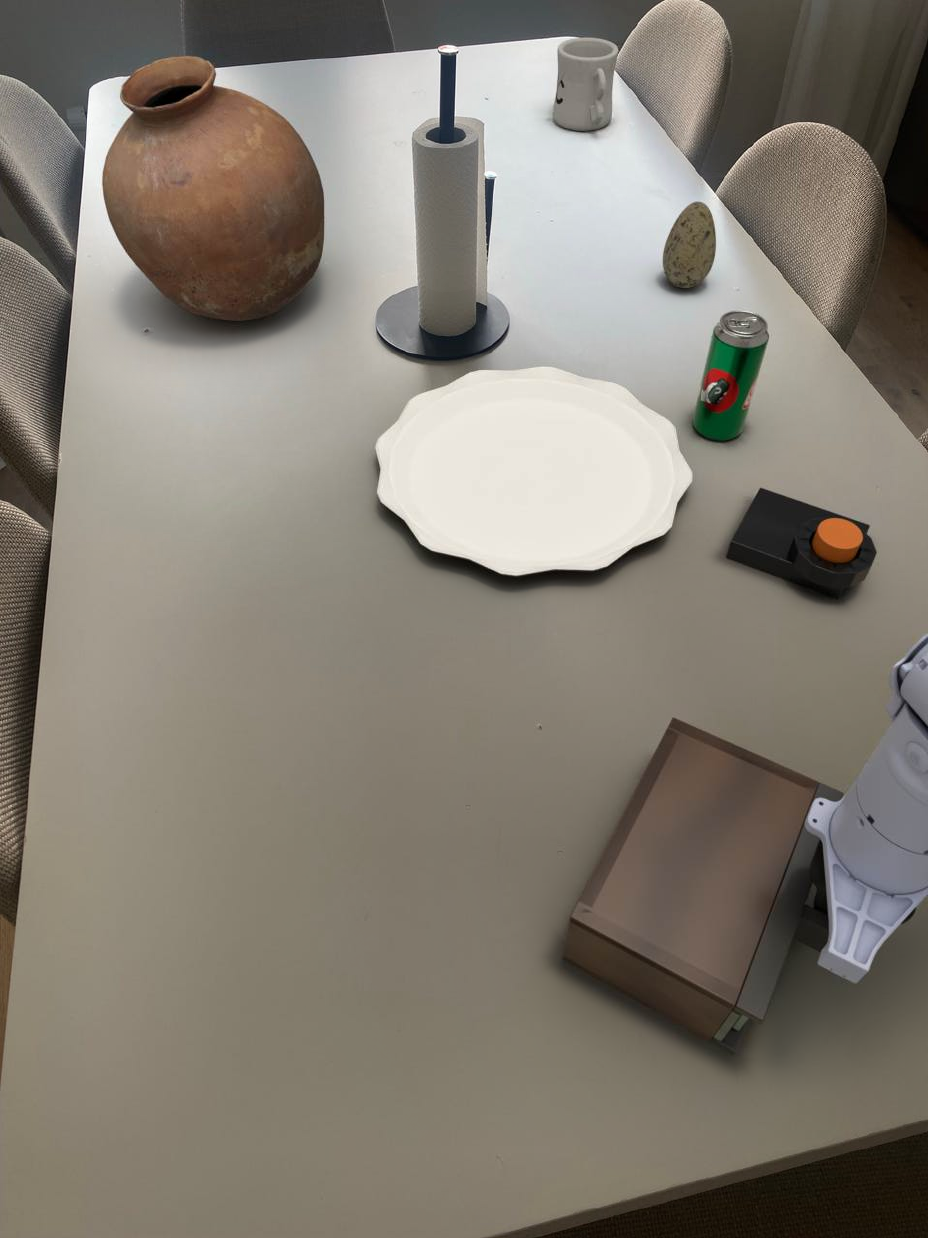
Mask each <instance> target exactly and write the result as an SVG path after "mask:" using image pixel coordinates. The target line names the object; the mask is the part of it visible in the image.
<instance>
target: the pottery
mask: <svg viewBox="0 0 928 1238" xmlns="http://www.w3.org/2000/svg"><path fill="white" fill-rule="evenodd" d="M216 77H217V72H216V68H215V66H214V65H213V64H212V63H211V62H210V61H209V60H205V59H204V58H201V57H199V56H191V55H182V56H171V57H167V58H162V59H157V60H155V61H153V62H151V63H149V64H146V65H144V66H142V67H140V68H138V69H136V70H135V71H134V72H133V73H132V74H130V75H129V77H128V78H127V79H126V80H125V81H124V82H123V83H122V85H121V88H120V91H119V93H120V94H119V99H120V102H121V103H122V104H123V105H124V106H125V107H126V108H127V109H128V110H129V111H131V112H132V113H131V114H130V115H129V117H128V118H127V119H126V120H125V121H124V122H123V124H122V126H121V127H120V129H119V130H118V132H117V134H116V136H115V137H114V139H113V141H112V143H111V145H110V146H109V148H108V150H107V153H106V156H105V159H104V165H103V169H102V176H101V177H102V178H101V179H102V180H101V186H102V194H103V195H102V196H103V200H104V204H105V205H104V206H105V209H106V213H107V216H108V219H109V223H110V225H111V227H112V229H113V233H114V234H115V236H116V238H117V240H118V242H119V244H120V245H121V247H122V249H123V250H124V251H125V253H126V254H127V255H128V257H129V258H130V259H131V261H132V262H133V264H134V265H135V266H136V267H137V268H138V270H140V271H141V273H142V274H143V275H144V276H145V277H146V278H147V279H148V281H150V283H152V285H154V287H155V288H156V289H157V290H158V291H159V292H160V293H161V294H162V295H163V296H164V297H165V298H166V299H168V300H169V301H170V302H172V303H173V304H174V305H176V306H177V307H179V308H181V309H183V310H185V311H187V312H190V313H193V314H196V315H198V316H202V317H205V318H208V319H215V320H222V321H231V322H241V321H250V320H255V319H262V318H265V317H267V316H269V315H272V314H275V313H276V312H278V311H279V310H280V309H281V308H284V306H286V305H288V304H289V303H290V302H291V301H292V300H293V299H295V298H296V297H297V296H298V295H299V294H301V292H302V291H303V290H304V289H305V288H306V287H307V286H308V284H309V283H310V282H311V281H312V279H313V277H314V276H315V274H316V272H317V270H318V268H319V266H320V263H321V260H322V257H323V252H324V251H323V250H324V244H325V193H324V187H323V182H322V178H321V175H320V172H319V170H318V167H317V165H316V163H315V160H314V158H313V156H312V154H311V152H310V150H309V148H308V147H307V145H306V143H305V141H304V140H303V138H302V137H301V135H300V133H298V131H297V130H296V129H295V128H294V126H293V125H292V124H291V123H290V121H288V119H286V118H285V117H284V116H283V115H282V114H280V113H279V112H278V111H276V110H275V109H273V108H272V107H270V105H268V104H266V103H264V102H262V101H260V100H259V99H257V98H254V97H253V96H251V95H248V94H246V93H243V92H242V91H238V90H235V89H232V88H227V87H224V86H218V85H215V80H216Z"/></svg>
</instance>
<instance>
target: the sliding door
mask: <svg viewBox="0 0 928 1238" xmlns="http://www.w3.org/2000/svg"><path fill="white" fill-rule="evenodd" d="M828 937H829V916H828V915H827V914H825V913H823V912H821V911H819V910H817V909H815V908H814V907H813V906H811V905H808V904H807V903H805V905H804V908H803V911H802V914H801V917H800V920H799V922H798V925H797V928H796V931H795V934H794V937H793V939H792V940H794V941H797V942H799V943H800V944H802V945H804V946H807V947H808V948H811V949H812V950H815V951H816V952H818V953H819V954H821V951H822V949H823V948H824V947H825V946H826V944H827V943H828ZM747 1019H748V1017H746V1016H744V1015H742V1014H741V1015H740V1017H739V1018H738V1019H737V1021H736V1022H735V1023H734V1025H733V1028H734V1029H736V1030H738V1031H739V1030H740V1028H741V1027H742V1026H743V1025H744V1023H745V1022H746V1021H747Z"/></svg>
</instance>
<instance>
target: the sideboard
mask: <svg viewBox="0 0 928 1238" xmlns="http://www.w3.org/2000/svg"><path fill="white" fill-rule="evenodd" d="M844 796H845V794H844V792H843V791H840V790H838V789H836V788H833V787H832V786H830V785H827V784H825V783H823V782H819V781H818V780H816V779H814V778H812V777H809V776H808V775H805V774H802V773H800V772H798V771H796V770H793V769H791V768H789V767H787V766H785V765H782V764H780V763H779V762H776V761H773V760H771V759H769V758H767V757H765V756H762V755H760V754H757V753H755V752H754V751H753V752H752V751H750V750H748V749H746V748H744V747H742V746H739V745H737V744H735V743H733V742H730V741H729V740H725V739H724V738H721V737H719V736H717V735H714V734H713V733H710V732H708V731H706V730H703V729H701V728H699V727H696V726H694V725H692V724H690V723H687V722H685V721H683V720H681V719H678V718H676V717H671V720H670V722H669V724H668V726H667V728H666V730H665V732H664V733H663V736H662V737H661V739H660V741H659V743H658V745H657V747H656V749H655V750H654V753H653V755H652V757H651V759H650V760H649V762H648V764H647V766H646V769H644V771H643V774H642V776H641V778H640V780H639V781H638V783H637V785H636V788H635V789H634V791H633V794H632V795H631V797H630V799H629V801H628V803H627V805H626V808H625V809H624V811H623V813H622V815H621V817H620V819H619V821H618V822H617V824H616V826H615V828H614V830H613V832H612V834H611V836H610V838H609V840H608V842H607V843H606V846H605V848H604V850H603V852H602V854H601V855H600V857H599V859H598V861H597V863H596V864H595V867H594V869H593V871H592V872H591V875H590V876H589V879H588V880H587V883H586V885H585V887H584V888H583V890H582V892H581V894H580V896H579V897H578V899H577V902H576V904H575V905H574V908H573V910H572V911H571V914H570V915H569V919H568V924H567V930H566V934H565V939H564V944H563V949H562V952H561V953H562V954H561V956H560V958H561V960H562V961H564V962H566V963H568V964H570V965H572V966H573V967H575V968H577V969H578V970H580V971H582V972H583V973H586V974H587V975H589V976H591V977H593V978H595V979H597V980H598V981H600V982H602V983H604V984H606V985H607V986H609V987H611V988H613V989H615V990H616V991H618V992H620V993H622V994H623V995H625V996H627V997H629V998H631V999H632V1000H634V1001H636V1002H638V1003H639V1004H641V1005H643V1006H645V1007H647V1008H648V1009H650V1010H652V1011H654V1012H656V1013H658V1014H659V1015H661V1016H663V1017H664V1018H666V1019H668V1020H670V1021H671V1022H673V1023H675V1024H677V1025H679V1026H681V1027H682V1028H684V1029H686V1030H688V1031H690V1032H691V1033H693V1034H694V1035H697V1036H699V1037H700V1038H702V1039H704V1040H705V1041H708V1042H710V1043H711V1044H713V1045H715V1046H716V1047H719V1048H720V1049H722V1050H724V1051H726V1052H727V1053H729V1054H731V1055H733V1056H737V1055H738V1053H739V1051H740V1048H741V1045H742V1043H743V1040H744V1037H745V1034H746V1031H747V1029H748V1026H749V1023H750V1020H751V1021H752V1022H755V1023H757V1024H759V1025H761V1024H762V1023H763V1022H764V1021H765V1019H766V1016H767V1013H768V1010H769V1008H770V1004H771V1002H772V999H773V995H774V994H775V990H776V987H777V986H778V982H779V979H780V977H781V973H782V971H783V968H784V965H785V963H786V959H787V957H788V953H789V950H790V948H791V944H792V942H793V940H794V939H793V937H794V934H795V931H796V928H797V925H798V922H799V920H800V917H801V914H802V911H803V908H804V905H805V904H806V902H807V900H808V896H809V894H810V891H811V889H812V885H813V883H812V882H811V880H810V879H809V871H810V864H811V861H812V858H813V856H814V853H815V850H816V847H817V845H818V842H819V840H820V838H819V837H818V836H816V835H814V834H812V833H810V832H809V831H807V829H806V828H805V820H806V817H807V815H808V812H809V809H810V807H811V805H812V803H813V802H814V800H815V799H816V798H825V799H827V800H829V801H832V802H838V801H840V800H841V799H842V798H843V797H844ZM741 1014H742V1015H744V1016H746V1017H748V1019H747V1021H746V1022H745V1023H744V1025H743V1026H742V1027H741V1028H740V1030H739V1031H738V1030H736V1029H734V1028H733V1025H734V1023H735V1022H736V1021H737V1019H738V1018H739V1017H740V1015H741Z"/></svg>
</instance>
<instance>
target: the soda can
mask: <svg viewBox="0 0 928 1238" xmlns="http://www.w3.org/2000/svg"><path fill="white" fill-rule="evenodd" d="M768 327H769V326H768V322H767V320H766V318H764V317H763V316H762V315H760V314H758V313H756V312H752V311H749V310H731V311H728V312H725V313H724V314H723V315H721V316H720V318H719V321H718V322H717V323H716V324H715V325H714V326H713V330H712V335H711V338H710V341H709V342H710V343H709V347H708V351H707V356H706V360H705V363H704V364H705V365H704V369H703V374H702V377H701V381H700V385H699V389H698V395H697V399H696V403H695V407H694V412H693V416H692V425H693V427H694V429H695V431H697V432H698V434H699V435H701V436H702V437H703V438H705V439H708V440H711V441H716V442H724V441H730V440H732V439H734V438H736V437H737V436H739V435H741V434H742V432H743V430H744V428H745V423H746V421H747V417H748V413H749V410H750V406H751V403H752V399H753V396H754V392H755V389H756V385H757V381H758V379H759V374H760V371H761V367H762V364H763V361H764V357H765V354H766V350H767V347H768V344H769V340H770V334H769V331H768Z"/></svg>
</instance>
